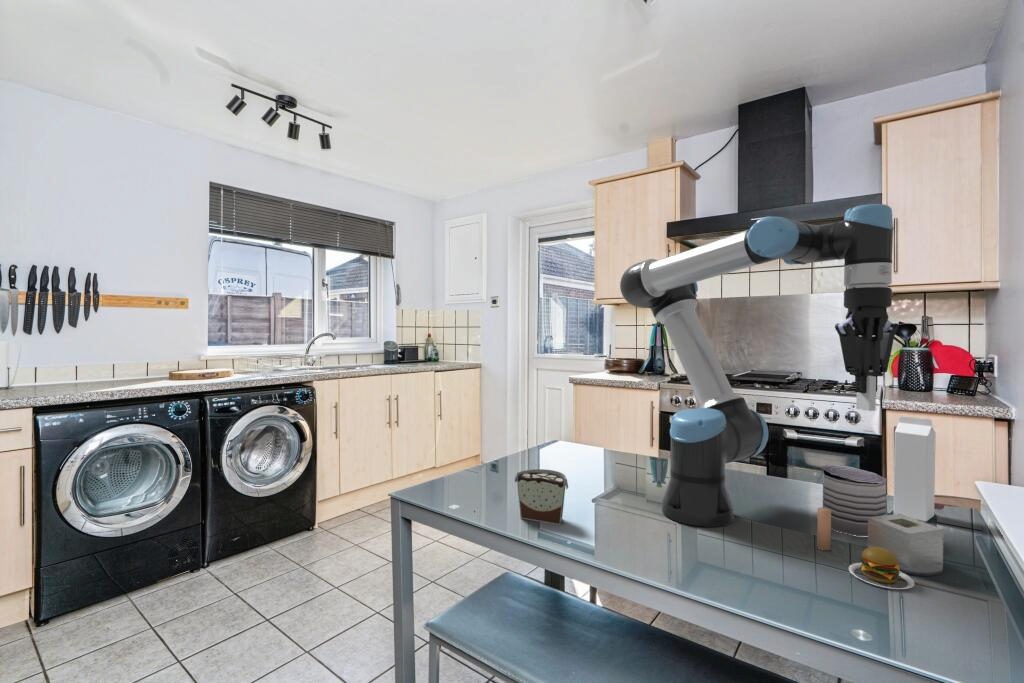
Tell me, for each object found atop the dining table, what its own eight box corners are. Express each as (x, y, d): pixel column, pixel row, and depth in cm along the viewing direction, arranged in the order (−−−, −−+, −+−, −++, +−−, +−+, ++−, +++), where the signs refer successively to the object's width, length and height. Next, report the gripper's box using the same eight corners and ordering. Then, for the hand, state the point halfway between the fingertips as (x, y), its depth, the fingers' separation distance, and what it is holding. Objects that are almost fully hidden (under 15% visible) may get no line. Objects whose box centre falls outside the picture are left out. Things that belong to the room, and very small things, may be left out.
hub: (880, 571, 86) (880, 536, 86) (856, 544, 97) (856, 514, 97) (957, 579, 83) (957, 544, 83) (923, 551, 94) (924, 520, 94)
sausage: (819, 550, 95) (819, 510, 95) (815, 545, 97) (816, 507, 97) (832, 551, 94) (832, 512, 94) (828, 546, 96) (828, 508, 96)
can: (829, 513, 114) (829, 461, 114) (890, 527, 106) (891, 471, 105) (814, 527, 106) (815, 471, 106) (880, 543, 98) (881, 482, 97)
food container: (575, 516, 112) (575, 472, 112) (566, 526, 107) (566, 479, 106) (525, 508, 117) (525, 466, 117) (514, 517, 112) (514, 472, 112)
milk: (926, 522, 109) (928, 421, 108) (892, 514, 113) (894, 417, 113) (934, 515, 112) (936, 418, 112) (901, 508, 117) (903, 414, 116)
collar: (908, 568, 85) (908, 533, 85) (867, 549, 93) (867, 517, 93) (942, 563, 87) (943, 529, 87) (899, 545, 94) (900, 513, 94)
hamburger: (890, 605, 77) (890, 570, 77) (821, 570, 88) (821, 539, 88) (945, 593, 80) (945, 560, 80) (872, 561, 92) (872, 531, 92)
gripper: (857, 285, 91) (856, 414, 91) (913, 286, 94) (911, 411, 94) (823, 288, 98) (821, 408, 99) (876, 289, 101) (874, 405, 102)
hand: (865, 409), depth 96 cm, fingers closed
